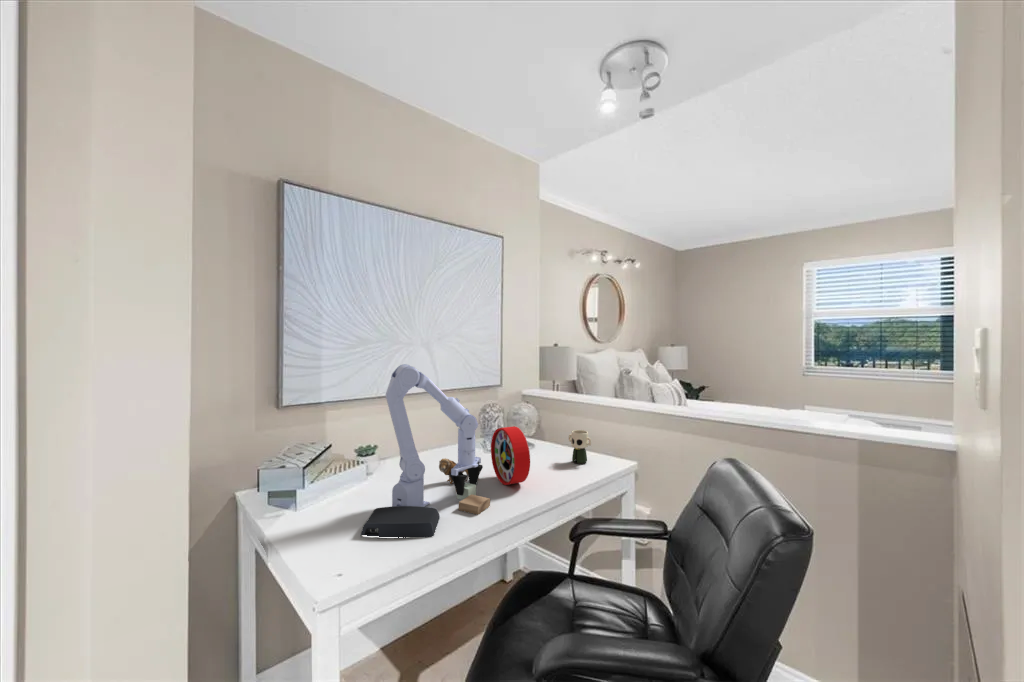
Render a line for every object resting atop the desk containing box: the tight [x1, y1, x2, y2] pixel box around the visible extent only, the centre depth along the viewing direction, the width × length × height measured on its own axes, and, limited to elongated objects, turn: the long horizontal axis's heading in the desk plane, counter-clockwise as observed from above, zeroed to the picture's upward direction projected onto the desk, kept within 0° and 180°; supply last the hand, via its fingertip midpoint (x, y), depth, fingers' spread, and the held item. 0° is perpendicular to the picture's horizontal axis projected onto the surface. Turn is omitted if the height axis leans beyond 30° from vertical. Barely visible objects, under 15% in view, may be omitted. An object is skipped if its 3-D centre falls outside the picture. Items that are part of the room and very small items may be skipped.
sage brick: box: [456, 482, 477, 500], centre depth 136 cm, size 4×4×4 cm
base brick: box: [458, 494, 491, 516], centre depth 127 cm, size 7×7×2 cm
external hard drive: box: [360, 506, 441, 539], centre depth 115 cm, size 13×19×4 cm
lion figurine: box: [438, 457, 480, 485], centre depth 150 cm, size 15×5×9 cm, turn 108°
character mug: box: [568, 429, 592, 464], centre depth 174 cm, size 11×7×13 cm, turn 49°
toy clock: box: [490, 425, 531, 486], centre depth 150 cm, size 20×6×20 cm, turn 27°
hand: (466, 490), depth 136 cm, fingers open, 7 cm apart
